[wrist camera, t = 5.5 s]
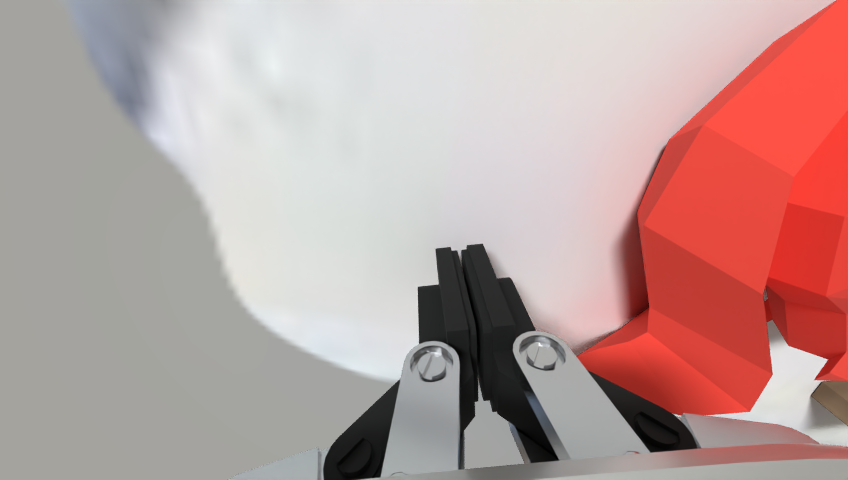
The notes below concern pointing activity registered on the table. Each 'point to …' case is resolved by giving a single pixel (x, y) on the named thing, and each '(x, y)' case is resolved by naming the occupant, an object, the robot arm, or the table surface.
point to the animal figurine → (745, 233)
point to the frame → (834, 398)
